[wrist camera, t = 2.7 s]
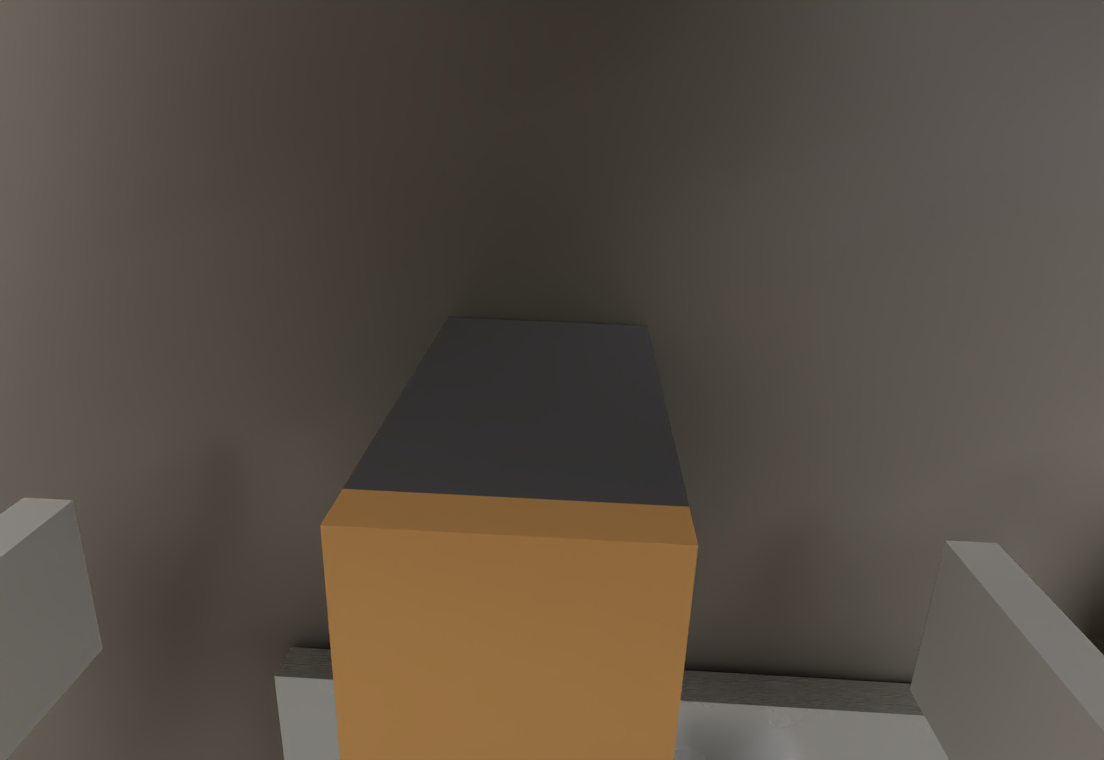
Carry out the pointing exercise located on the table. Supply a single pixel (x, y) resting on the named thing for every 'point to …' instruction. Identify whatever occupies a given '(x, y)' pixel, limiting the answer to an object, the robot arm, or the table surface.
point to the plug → (514, 555)
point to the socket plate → (685, 716)
